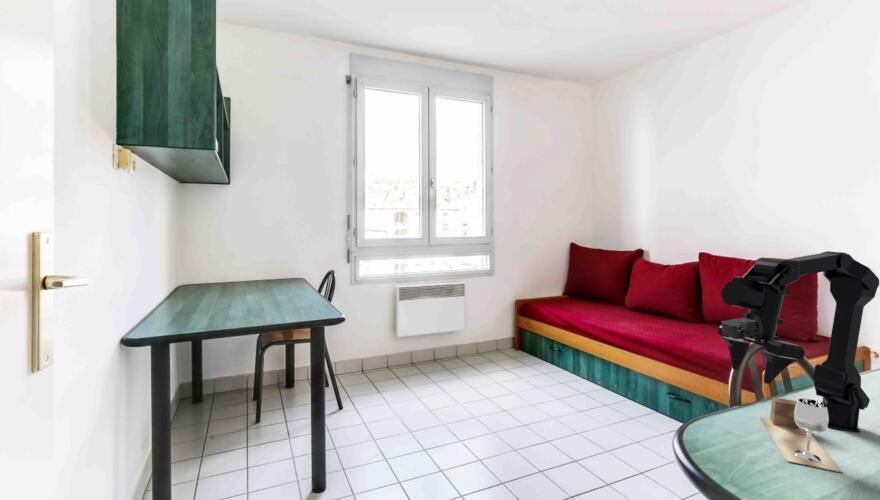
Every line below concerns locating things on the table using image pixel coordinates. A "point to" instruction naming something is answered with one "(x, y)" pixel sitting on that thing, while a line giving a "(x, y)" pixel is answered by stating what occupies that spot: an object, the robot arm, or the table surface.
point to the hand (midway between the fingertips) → (749, 376)
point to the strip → (794, 435)
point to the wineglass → (810, 423)
